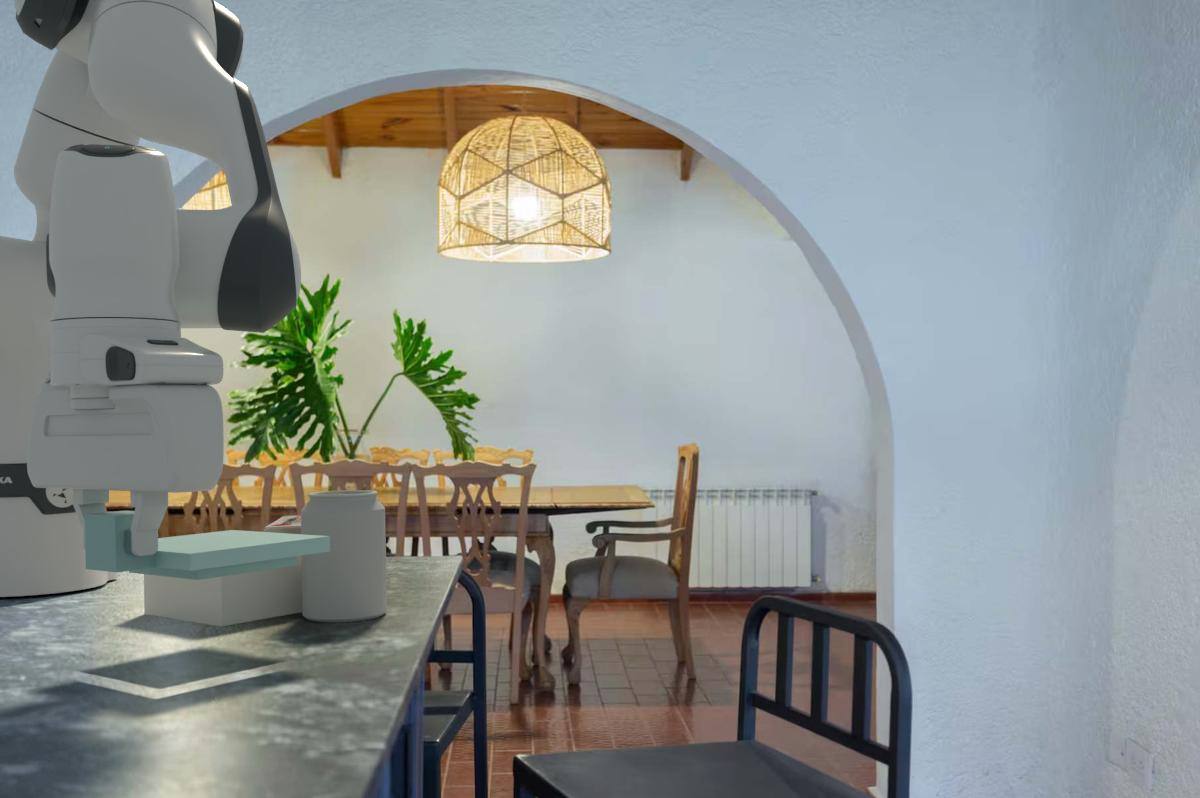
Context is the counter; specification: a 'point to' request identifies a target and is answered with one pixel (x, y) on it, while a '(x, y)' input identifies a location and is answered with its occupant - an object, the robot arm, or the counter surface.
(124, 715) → the counter surface
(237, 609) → the tub
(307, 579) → the can
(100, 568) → the lid
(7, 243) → the robot arm
